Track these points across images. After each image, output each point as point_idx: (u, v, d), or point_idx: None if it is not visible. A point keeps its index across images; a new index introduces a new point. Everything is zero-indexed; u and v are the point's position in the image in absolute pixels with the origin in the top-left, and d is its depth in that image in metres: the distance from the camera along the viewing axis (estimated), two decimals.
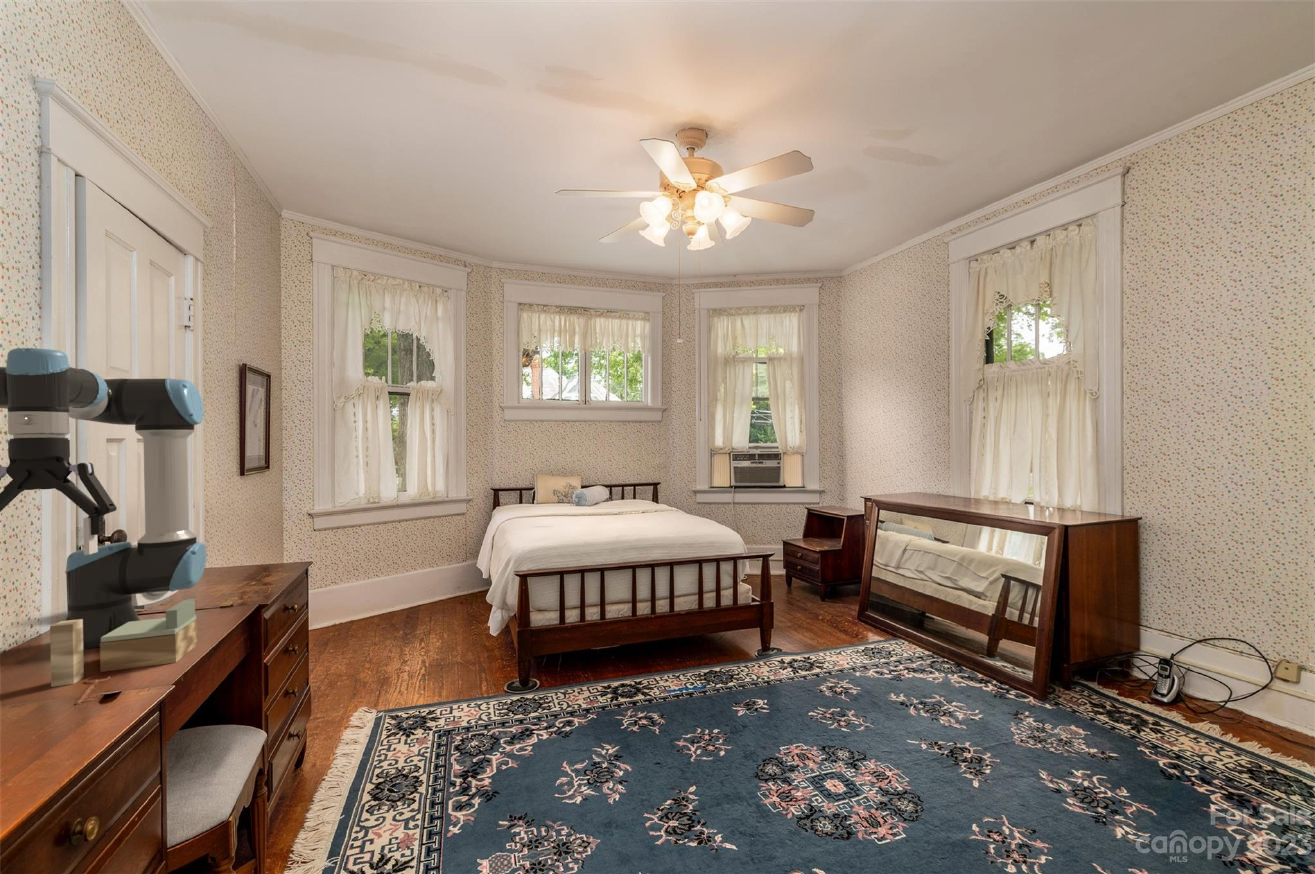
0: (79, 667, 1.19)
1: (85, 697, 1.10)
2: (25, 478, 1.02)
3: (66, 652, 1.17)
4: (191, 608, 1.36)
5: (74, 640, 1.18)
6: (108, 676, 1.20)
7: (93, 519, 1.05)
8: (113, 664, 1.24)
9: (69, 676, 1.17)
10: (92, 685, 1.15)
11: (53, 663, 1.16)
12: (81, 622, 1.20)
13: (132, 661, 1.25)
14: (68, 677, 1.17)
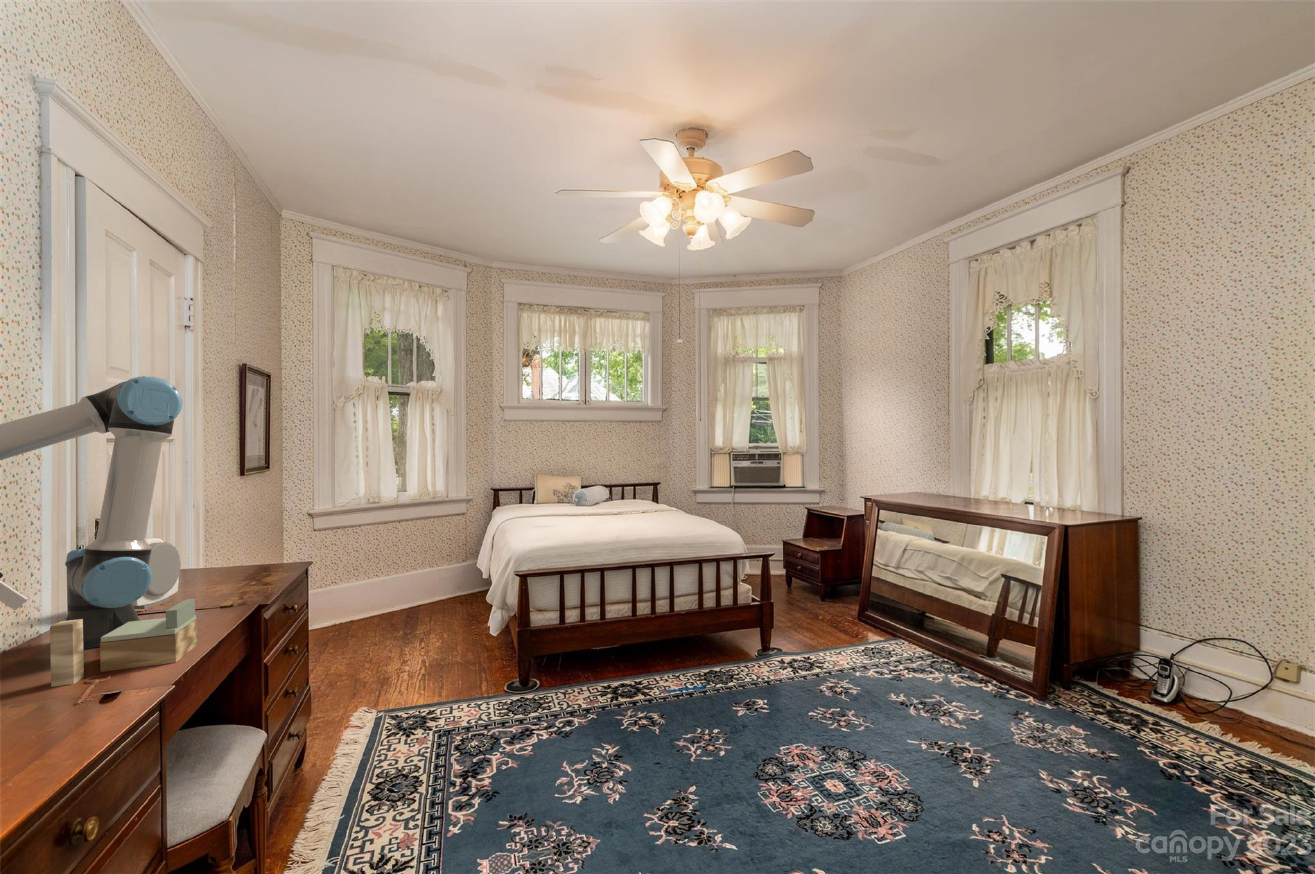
0: (79, 667, 1.19)
1: (85, 697, 1.10)
2: None
3: (66, 652, 1.17)
4: (191, 608, 1.36)
5: (74, 640, 1.18)
6: (108, 676, 1.20)
7: None
8: (113, 664, 1.24)
9: (69, 676, 1.17)
10: (92, 685, 1.15)
11: (53, 663, 1.16)
12: (81, 622, 1.20)
13: (132, 661, 1.25)
14: (68, 677, 1.17)
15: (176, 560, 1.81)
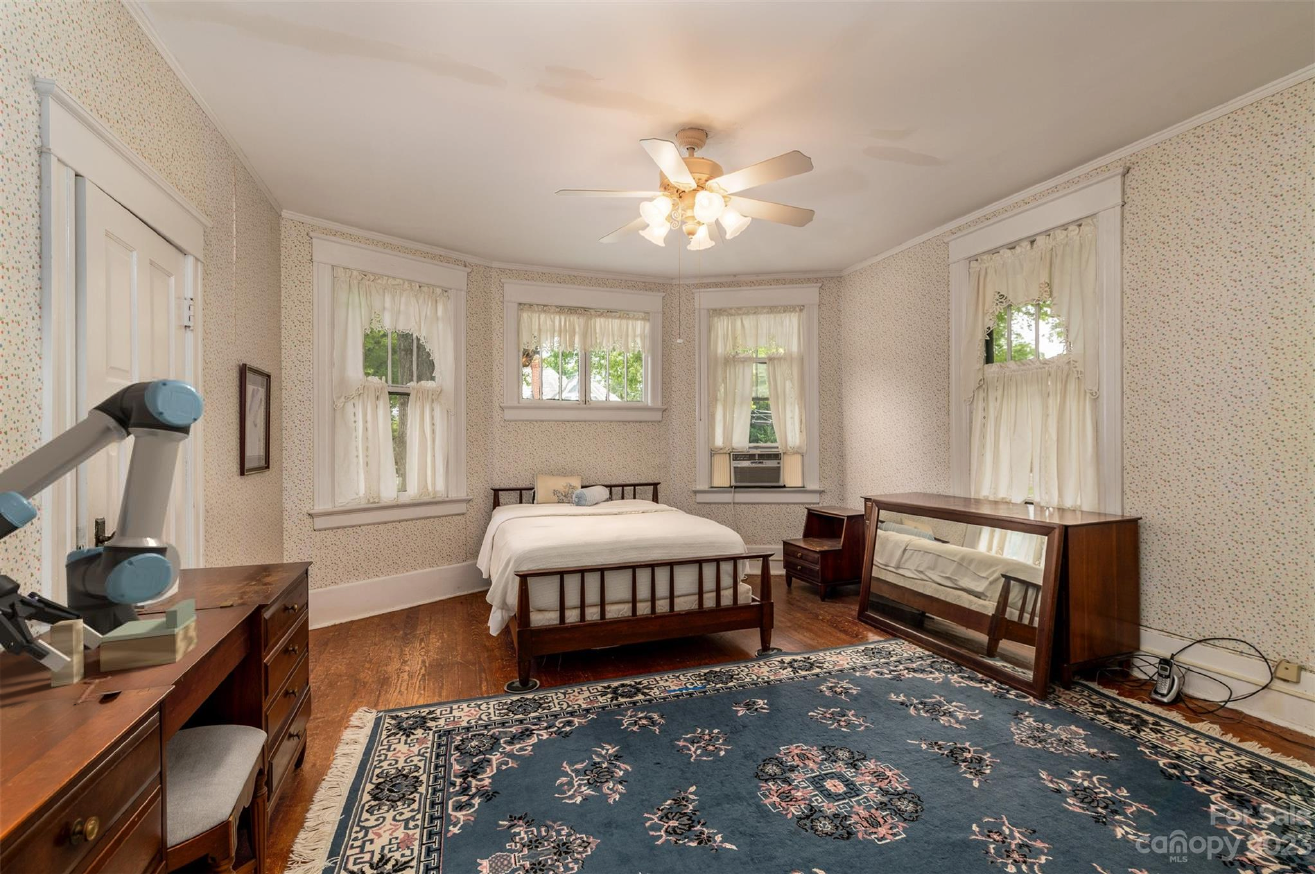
0: (79, 667, 1.19)
1: (85, 697, 1.10)
2: None
3: (66, 652, 1.17)
4: (191, 608, 1.36)
5: (74, 640, 1.18)
6: (108, 676, 1.20)
7: None
8: (113, 664, 1.24)
9: (69, 676, 1.17)
10: (92, 685, 1.15)
11: None
12: (81, 622, 1.20)
13: (132, 661, 1.25)
14: (68, 677, 1.17)
15: (176, 560, 1.81)
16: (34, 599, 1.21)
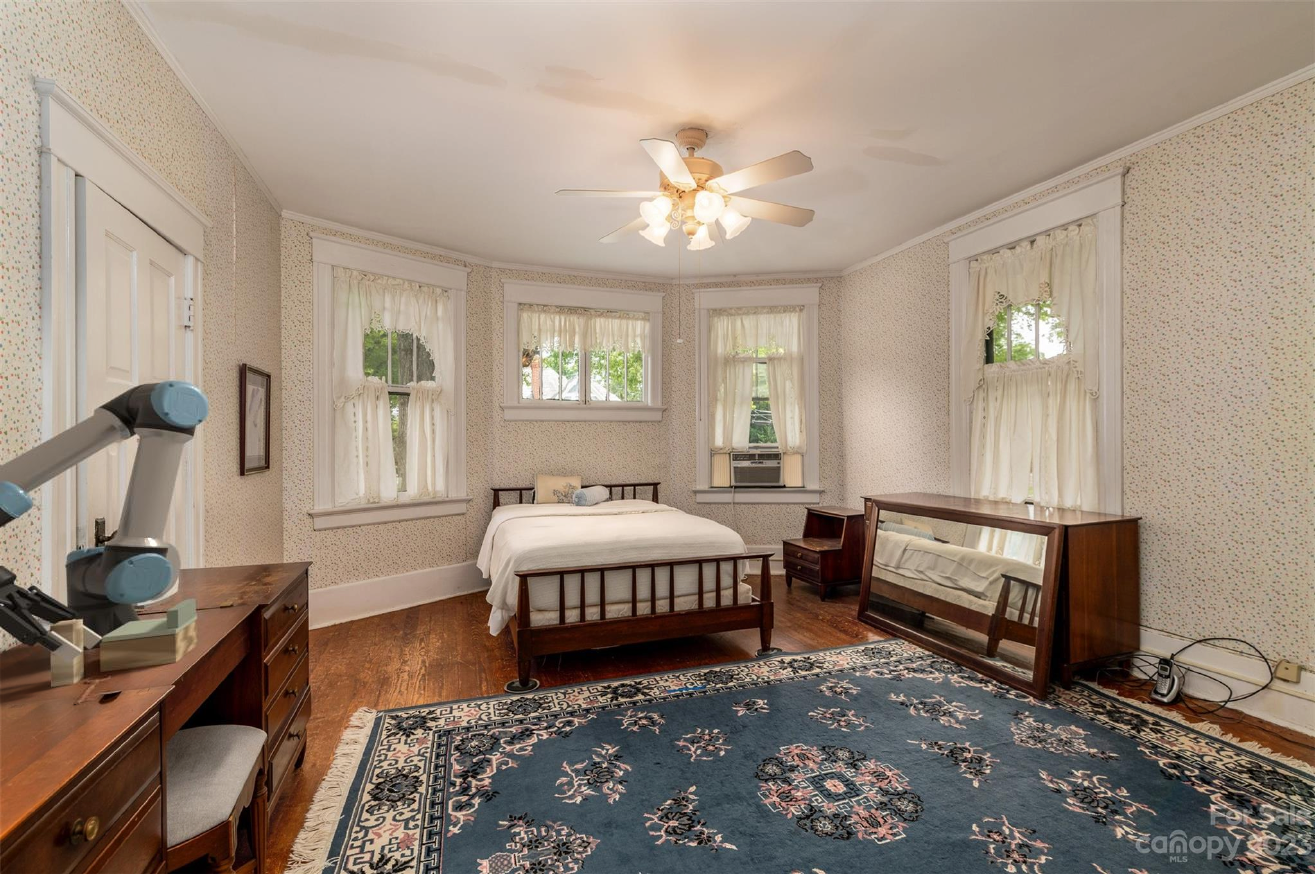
0: (79, 667, 1.19)
1: (85, 697, 1.10)
2: None
3: None
4: (192, 608, 1.36)
5: (74, 640, 1.18)
6: (108, 676, 1.20)
7: None
8: (113, 664, 1.24)
9: (69, 676, 1.17)
10: (92, 685, 1.15)
11: (53, 663, 1.16)
12: (81, 622, 1.20)
13: (132, 661, 1.25)
14: (68, 677, 1.17)
15: (176, 560, 1.81)
16: (32, 592, 1.21)
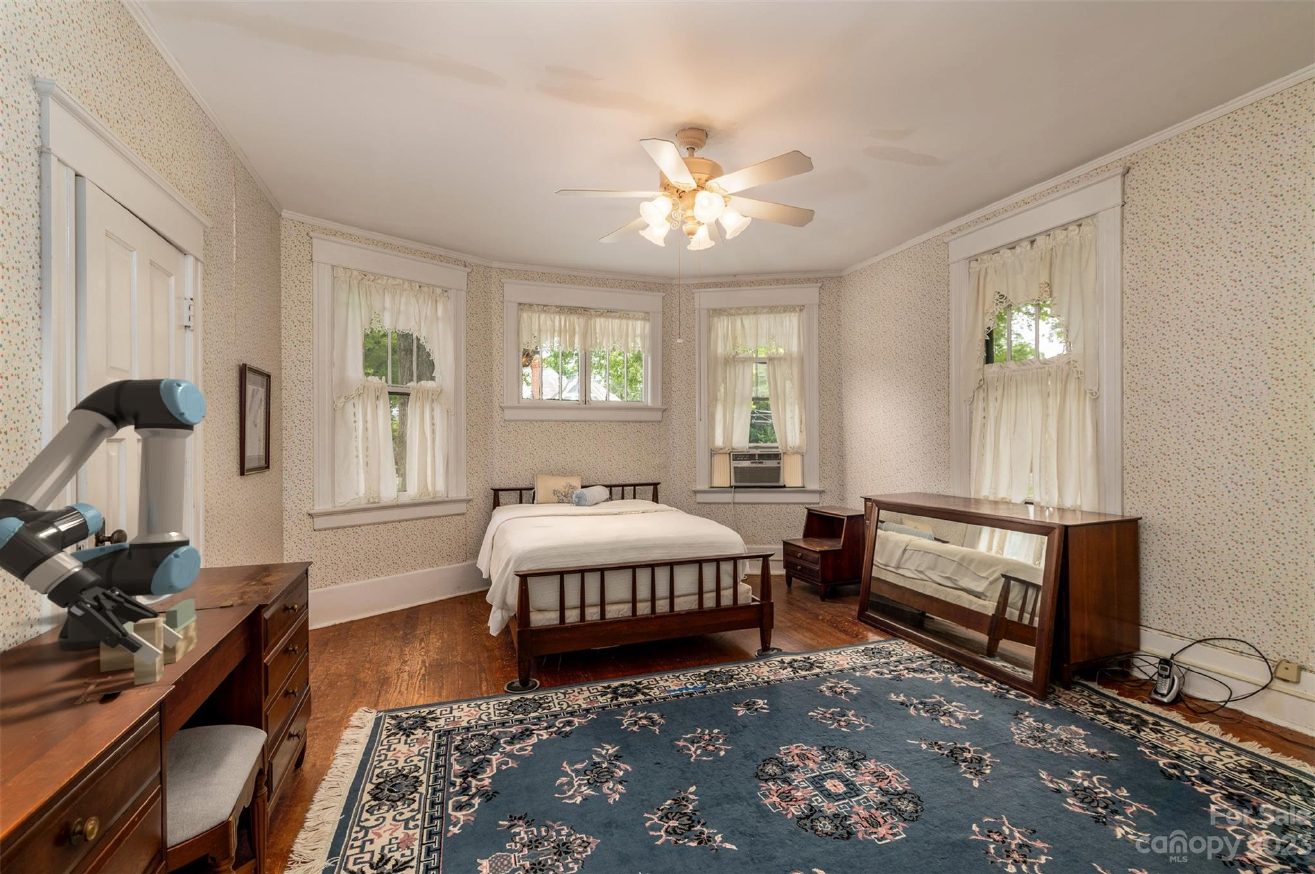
0: (160, 665, 1.19)
1: (85, 697, 1.10)
2: None
3: None
4: (191, 608, 1.36)
5: (156, 638, 1.18)
6: (109, 676, 1.20)
7: None
8: (113, 664, 1.24)
9: (152, 674, 1.17)
10: (93, 685, 1.15)
11: (136, 661, 1.16)
12: (161, 620, 1.20)
13: (132, 661, 1.25)
14: (151, 675, 1.17)
15: None
16: (114, 594, 1.21)
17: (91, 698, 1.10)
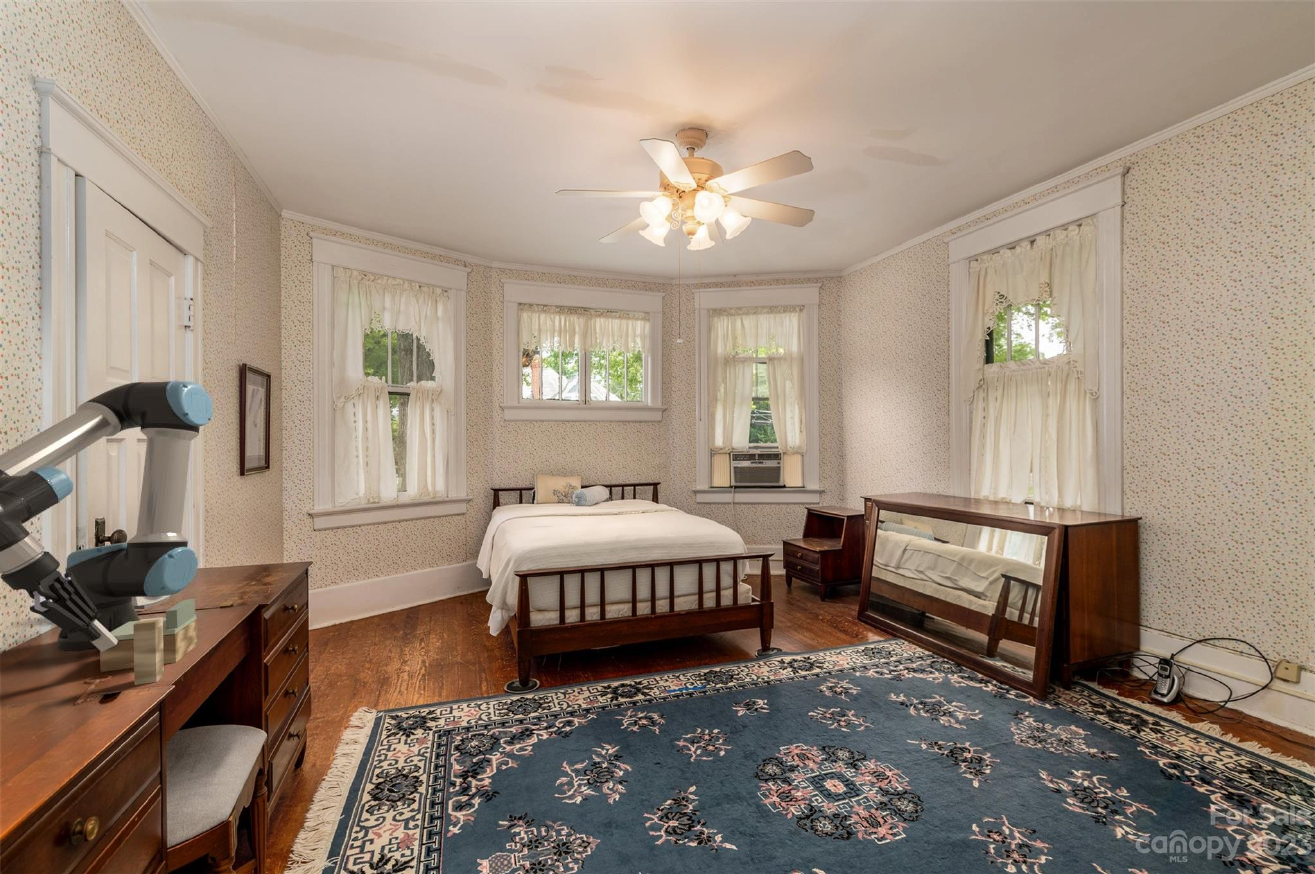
0: (160, 665, 1.19)
1: (85, 697, 1.10)
2: None
3: (149, 650, 1.17)
4: (191, 608, 1.36)
5: (156, 638, 1.18)
6: (109, 676, 1.20)
7: None
8: (113, 664, 1.24)
9: (152, 674, 1.17)
10: (93, 685, 1.15)
11: (136, 661, 1.16)
12: (161, 620, 1.20)
13: (132, 661, 1.25)
14: (151, 675, 1.17)
15: None
16: (66, 579, 1.20)
17: (91, 698, 1.10)
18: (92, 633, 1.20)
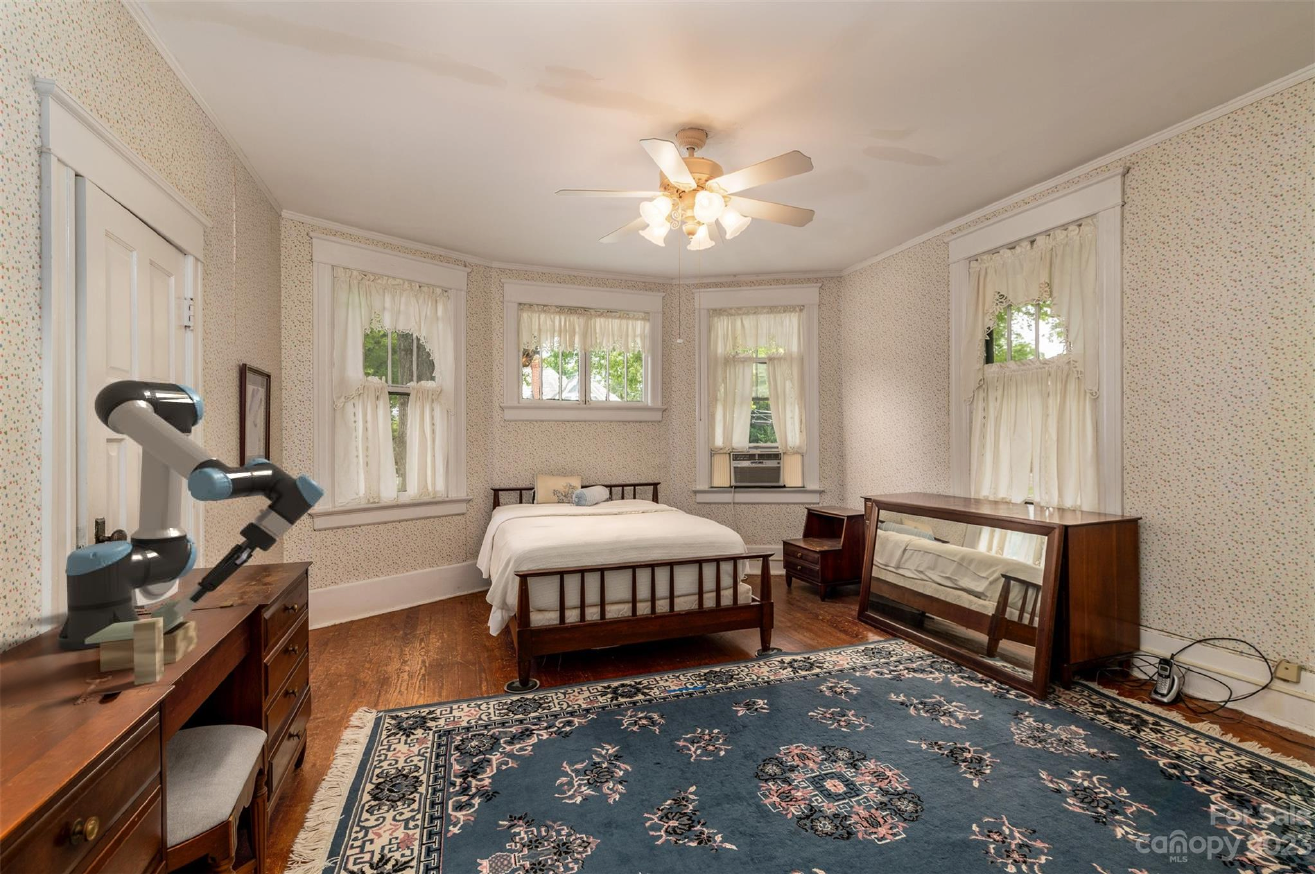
0: (160, 665, 1.19)
1: (86, 697, 1.10)
2: None
3: (149, 650, 1.17)
4: None
5: (156, 638, 1.18)
6: (109, 676, 1.21)
7: (200, 588, 1.34)
8: (113, 664, 1.24)
9: (152, 674, 1.17)
10: (93, 685, 1.15)
11: (136, 661, 1.16)
12: (161, 620, 1.20)
13: (132, 661, 1.25)
14: (151, 675, 1.17)
15: None
16: None
17: (91, 698, 1.10)
18: (200, 596, 1.34)
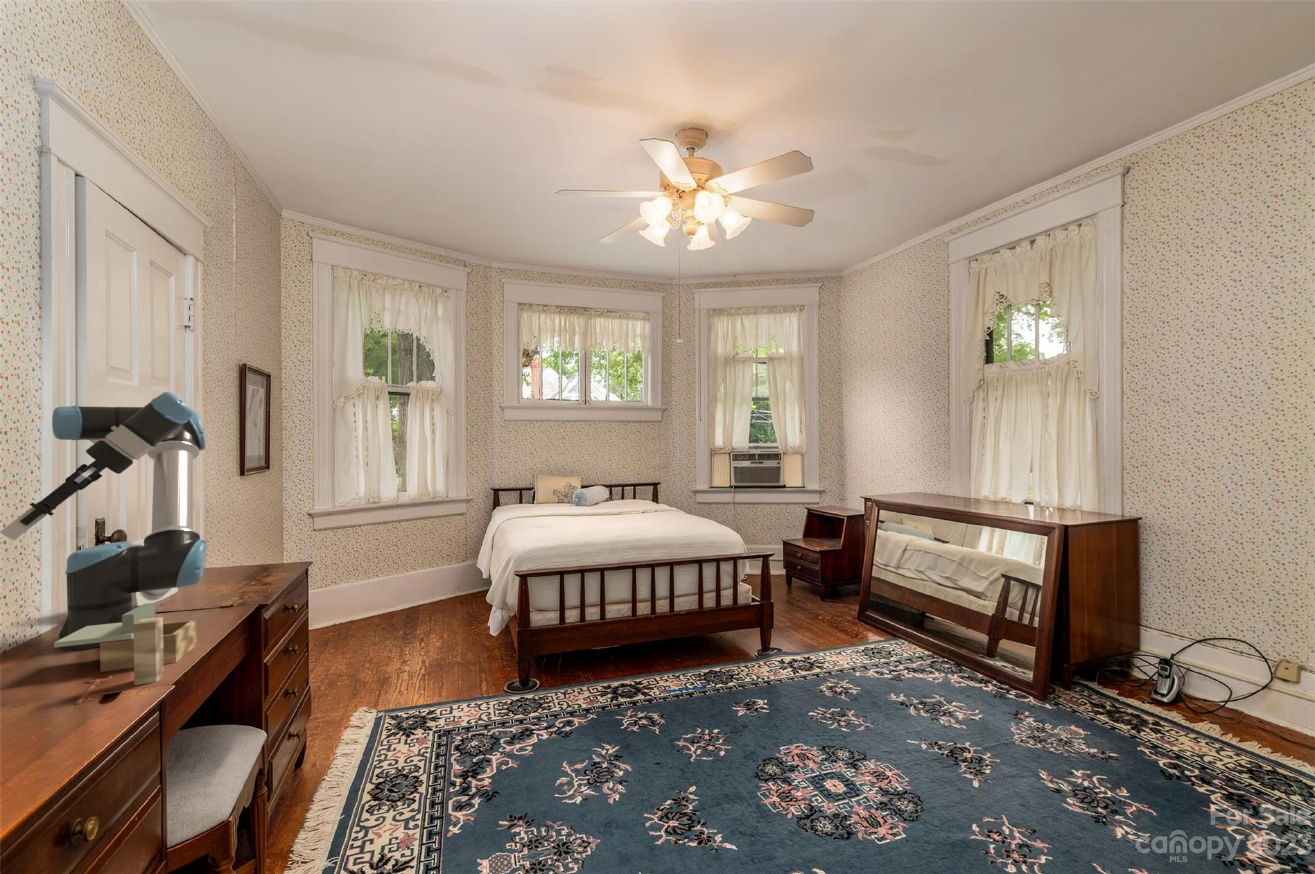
0: (160, 665, 1.19)
1: (86, 697, 1.10)
2: None
3: (149, 650, 1.17)
4: (151, 612, 1.34)
5: (156, 638, 1.18)
6: (109, 676, 1.21)
7: (34, 510, 1.18)
8: (113, 664, 1.24)
9: (152, 674, 1.17)
10: (93, 685, 1.15)
11: (136, 661, 1.16)
12: (161, 620, 1.20)
13: (132, 661, 1.25)
14: (151, 675, 1.17)
15: None
16: None
17: (91, 698, 1.10)
18: (33, 519, 1.18)
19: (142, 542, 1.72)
